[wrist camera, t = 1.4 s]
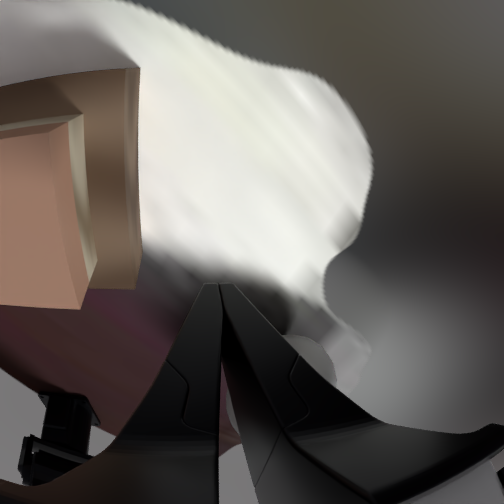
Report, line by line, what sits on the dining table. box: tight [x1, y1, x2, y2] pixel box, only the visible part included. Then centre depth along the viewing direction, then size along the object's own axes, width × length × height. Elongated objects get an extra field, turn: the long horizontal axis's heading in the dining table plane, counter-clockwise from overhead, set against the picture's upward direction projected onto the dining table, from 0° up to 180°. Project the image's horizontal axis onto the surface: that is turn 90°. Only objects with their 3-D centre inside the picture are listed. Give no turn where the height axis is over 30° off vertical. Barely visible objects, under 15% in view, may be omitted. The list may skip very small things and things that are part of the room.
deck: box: [0, 68, 143, 289], centre depth 15 cm, size 12×14×4 cm
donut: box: [226, 334, 337, 435], centre depth 24 cm, size 10×4×10 cm, turn 128°
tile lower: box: [0, 114, 97, 282], centre depth 13 cm, size 8×8×2 cm
